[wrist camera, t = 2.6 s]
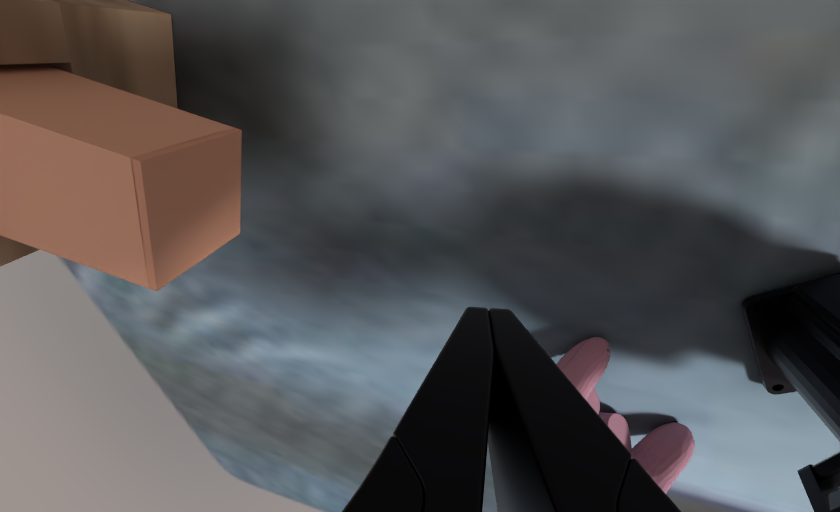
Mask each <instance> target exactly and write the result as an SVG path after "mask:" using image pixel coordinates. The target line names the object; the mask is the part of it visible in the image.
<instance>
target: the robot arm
mask: <svg viewBox="0 0 840 512" xmlns="http://www.w3.org/2000/svg"><path fill="white" fill-rule="evenodd" d="M756 305H759V306H758V307H756V308H753V307H754V306H756ZM742 311H743V314H744V318H745V322H746V325H747V329H748V333H749V337H750V340H751V344H752V348H753V351H754V355H755V359H756V362H757V366H758V370H759V373H760V377H761V381H762V384H763V386H764V387H765V388H766V390H767V391H768V392H769V393H771V394H783V393H789V392H795V391H797V392H798V393H799V394H800V395H801V396H802V398H803V399H804V400H805V401H806V402H807V404H808V405H809V406H810V407H811V408H812V409H813V411H814V412H815V413H816V414H817V415H818V417H819V418H820V419H821V420H822V421H823V422H824V424H825V425H826V426H827V427H828V428H829V430H830V431H831V432H832V433H833V434H834V435H835V437H836V438H837V439H838V440H839V441H840V273H839V274H835V275H832V276H828V277H824V278H820V279H816V280H812V281H809V282H805V283H801V284H797V285H793V286H789V287H786V288H782V289H778V290H774V291H770V292H766V293H763V294H759V295H755V296H751V297H749V298H747V299H745V300H744V301H743V303H742ZM487 444H488V445H489V452H490V459H491V466H492V474H493V481H494V488H495V496H496V503H497V510H498V512H681V511H680V510H679V509H678V508H677V506H676V505H675V504H674V503H673V502H672V501H671V500H670V498H669V497H668V496H667V495H666V494H665V493H664V492H663V490H662V489H661V488H660V487H659V486H658V485H657V484H656V482H655V481H654V480H653V479H652V478H651V476H650V475H649V474H648V473H647V472H646V471H645V469H644V468H643V467H642V466H641V465H640V463H639V462H638V461H637V460H636V459H635V458H632V459H631V453H630V452H629V451H628V449H627V448H626V447H625V446H624V445H623V443H622V442H621V441H620V440H619V439H618V438H617V436H616V435H615V434H614V433H613V432H612V430H611V429H610V428H609V427H608V426H607V424H606V423H605V422H604V421H603V420H602V418H601V417H600V416H599V415H598V414H597V412H596V411H595V410H594V409H593V408H592V407H591V405H590V404H589V403H588V402H587V401H586V399H585V398H584V397H583V396H582V395H581V393H580V392H579V391H578V390H577V389H576V387H575V386H574V385H573V384H572V383H571V382H570V380H569V379H568V378H567V377H566V376H565V374H564V373H563V372H562V371H561V370H560V368H559V367H558V366H557V365H556V364H555V362H554V361H553V360H552V359H551V358H550V357H549V355H548V354H547V353H546V352H545V351H544V349H543V348H542V347H541V346H540V345H539V343H538V342H537V341H536V340H535V339H534V337H533V336H532V335H531V334H530V333H529V332H528V330H527V329H526V328H525V327H524V326H523V324H522V323H521V322H520V321H519V320H518V318H517V317H516V316H515V315H514V314H513V312H512V311H510V310H508V309H495V308H491V309H490V310H489V311H488V310H487V309H486V308H479V307H468V308H467V309H466V310H465V312H464V313H463V315H462V317H461V318H460V320H459V322H458V324H457V325H456V327H455V329H454V330H453V332H452V334H451V335H450V337H449V339H448V341H447V342H446V344H445V346H444V347H443V349H442V351H441V352H440V354H439V356H438V358H437V359H436V361H435V363H434V364H433V366H432V368H431V369H430V371H429V373H428V375H427V376H426V378H425V380H424V381H423V383H422V385H421V386H420V388H419V390H418V391H417V393H416V395H415V397H414V398H413V400H412V402H411V403H410V405H409V407H408V408H407V410H406V412H405V414H404V415H403V417H402V419H401V420H400V422H399V424H398V425H397V427H396V429H395V431H394V432H393V436H392V437H390V439H389V440H388V442H387V444H386V445H385V447H384V449H383V450H382V452H381V454H380V456H379V457H378V459H377V460H376V462H375V464H374V465H373V467H372V468H371V470H370V471H369V473H368V475H367V476H366V478H365V479H364V481H363V482H362V484H361V486H360V487H359V489H358V490H357V491H356V493H355V494H354V496H353V497H352V498H351V500H350V501H349V503H348V504H347V505H346V507H345V508H344V510H343V511H342V512H482V506H483V493H484V481H485V468H486V456H487ZM798 474H799V476H800V479H801V481H802V483H803V486H804V488H805V490H806V493H807V495H808V498H809V500H810V502H811V505H812V507H813V510H814V512H840V452H839V453H837V454H835V455H833V456H831V457H829V458H827V459H825V460H823V461H822V462H820V463H818V464H816V465H814V466H813V465H808V466H806V467H804V468H802V469H800V470H798Z"/></svg>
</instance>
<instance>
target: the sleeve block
mask: <svg viewBox="0 0 840 512" xmlns="http://www.w3.org/2000/svg"><path fill="white" fill-rule="evenodd" d="M35 63H41V64H44V65H47V66H50V67H53V68H56V69H60V70H63V71H66V72H69V73H72V74H75V75H78V76H81V77H84V78H87V79H90V80H93V81H96V82H99V83H102V84H105V85H108V86H111V87H114V88H117V89H120V90H123V91H126V92H129V93H132V94H135V95H138V96H141V97H144V98H147V99H150V100H153V101H156V102H159V103H162V104H165V105H168V106H171V107H174V108H177V109H178V107H177V92H176V78H175V63H174V49H173V34H172V20H171V14H168V13H165V12H162V11H159V10H156V9H153V8H150V7H146V6H143V5H140V4H137V3H134V2H131V1H128V0H0V65H3V64H35ZM37 250H40V249H37V248H34V247H32V246H29V245H26V244H23V243H20V242H18V241H15V240H12V239H9V238H6V237H4V236H1V235H0V266H2V265H4V264H7V263H9V262H12V261H14V260H16V259H19V258H21V257H23V256H26V255H28V254H30V253H33V252H35V251H37Z"/></svg>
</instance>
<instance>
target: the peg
mask: <svg viewBox="0 0 840 512" xmlns="http://www.w3.org/2000/svg"><path fill="white" fill-rule="evenodd" d="M241 151H242V130H240V129H237V128H234V127H231V126H228V125H225V124H222V123H219V122H216V121H213V120H210V119H207V118H204V117H201V116H198V115H195V114H192V113H189V112H186V111H183V110H180V109H177V108H174V107H171V106H168V105H165V104H162V103H159V102H156V101H153V100H150V99H147V98H144V97H141V96H138V95H135V94H132V93H129V92H126V91H123V90H120V89H117V88H114V87H111V86H108V85H105V84H102V83H99V82H96V81H93V80H90V79H87V78H84V77H81V76H78V75H75V74H72V73H69V72H66V71H63V70H60V69H56V68H53V67H50V66H47V65H44V64H41V63H35V64H3V65H0V235H1V236H4V237H6V238H9V239H12V240H15V241H18V242H20V243H23V244H26V245H29V246H32V247H34V248H37V249H40V250H43V251H46V252H49V253H51V254H54V255H57V256H60V257H63V258H65V259H68V260H71V261H74V262H77V263H79V264H82V265H85V266H88V267H91V268H93V269H96V270H99V271H102V272H105V273H108V274H110V275H113V276H116V277H119V278H122V279H124V280H127V281H130V282H133V283H136V284H138V285H141V286H144V287H147V288H150V289H152V290H155V291H158V290H159V289H161V288H162V287H164V286H165V285H166V284H168V283H169V282H171V281H172V280H174V279H175V278H177V277H178V276H179V275H181V274H182V273H184V272H185V271H187V270H188V269H190V268H191V267H192V266H194V265H195V264H197V263H198V262H200V261H201V260H203V259H204V258H206V257H207V256H208V255H210V254H211V253H213V252H214V251H216V250H217V249H219V248H220V247H221V246H223V245H224V244H226V243H227V242H229V241H230V240H232V239H233V238H234V237H236V236H237V235H239V234H240V213H241Z"/></svg>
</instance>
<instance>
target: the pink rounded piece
mask: <svg viewBox="0 0 840 512" xmlns="http://www.w3.org/2000/svg"><path fill="white" fill-rule="evenodd" d="M609 358H610V346H609V344H608V342H607V341H606V340H604V339H602V338H600V337H592V338H589V339H586V340H584V341H582V342H580V343H578V344H577V345H575V346H574V347H573V348H572V349H570V350H569V351H568V352H567V353H566V354H565V355H564V356H563V357H562V358H561V359H560V361H559V362H558V363H557V366H558V367H559V368H560V370H561V371H562V372H563V373H564V374H565V376H566V377H567V378H568V379H569V380H570V382H571V383H572V384H573V385H574V386H575V387H576V389H577V390H578V391H579V392H580V393H581V395H582V396H583V397H584V398H585V399H586V401H587V402H588V403H589V404H590V405H591V407H592V408H593V409H594V410H595V411H596V412H597V414H598V415H599V416H600V417H601V418H602V420H603V421H604V422H605V423H606V424H607V426H608V427H609V428H610V429H611V430H612V432H613V433H614V434H615V435H616V436H617V438H618V439H619V440H620V441H621V442H622V443H623V445H624V446H625V447H626V448H627V449H628V451H629V452H630V453H631V459H632V458H635V459H636V460H637V461H638V462H639V463H640V465H641V466H642V467H643V468H644V469H645V471H646V472H647V473H648V474H649V475H650V476H651V478H652V479H653V480H654V481H655V482H656V484H657V485H658V486H659V487H660V488H661V489H662V490H663V492H664V493H665V494H666V493H667V491H668V489H669V488H670V486H671V485H672V483H673V482H674V480H675V479H676V478H677V477H678V475H679V474H680V473H681V472H682V470H683V469H684V468H685V466H686V465H687V463H688V462H689V460H690V459H691V457H692V454H693V450H694V438H693V435H692V432H691V431H690V430H689V428H687V427H686V426H685V425H682V424H680V423H677V422H675V423H668V424H664V425H662V426H660V427H658V428H656V429H654V430H653V431H652V432H650V433H649V434H647V435H646V436H645V437H644V438H643V439H642V440H641V441H640V442H638V443H637V444H636V445H635V446H634V447H633V448H632V447H631V439H630V431H629V426H628V424H627V422H626V420H625V418H624V417H623V416H621V415H620V414H617V413H599V410H600V401H599V398H598V395H597V392H596V391H595V389H594V386H595V385H596V383H597V382H598V380H599V379H600V377H601V376H602V374H603V373H604V371H605V369H606V368H607V364H608V361H609Z"/></svg>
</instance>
